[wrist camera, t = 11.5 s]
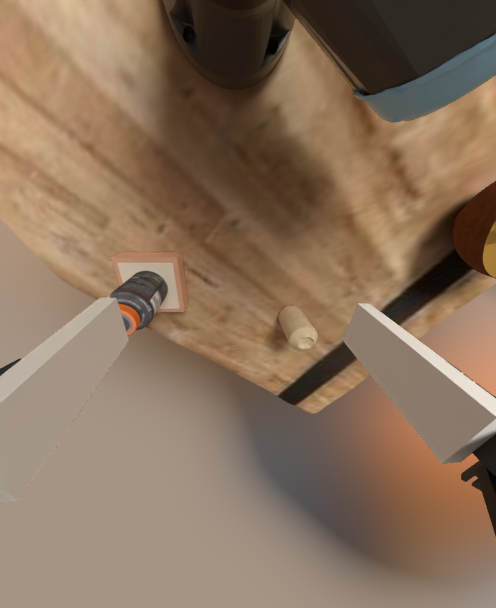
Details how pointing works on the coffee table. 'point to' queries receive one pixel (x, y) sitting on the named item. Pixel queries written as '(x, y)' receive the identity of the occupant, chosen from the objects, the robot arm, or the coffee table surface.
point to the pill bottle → (140, 299)
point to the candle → (297, 328)
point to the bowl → (478, 232)
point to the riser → (162, 264)
